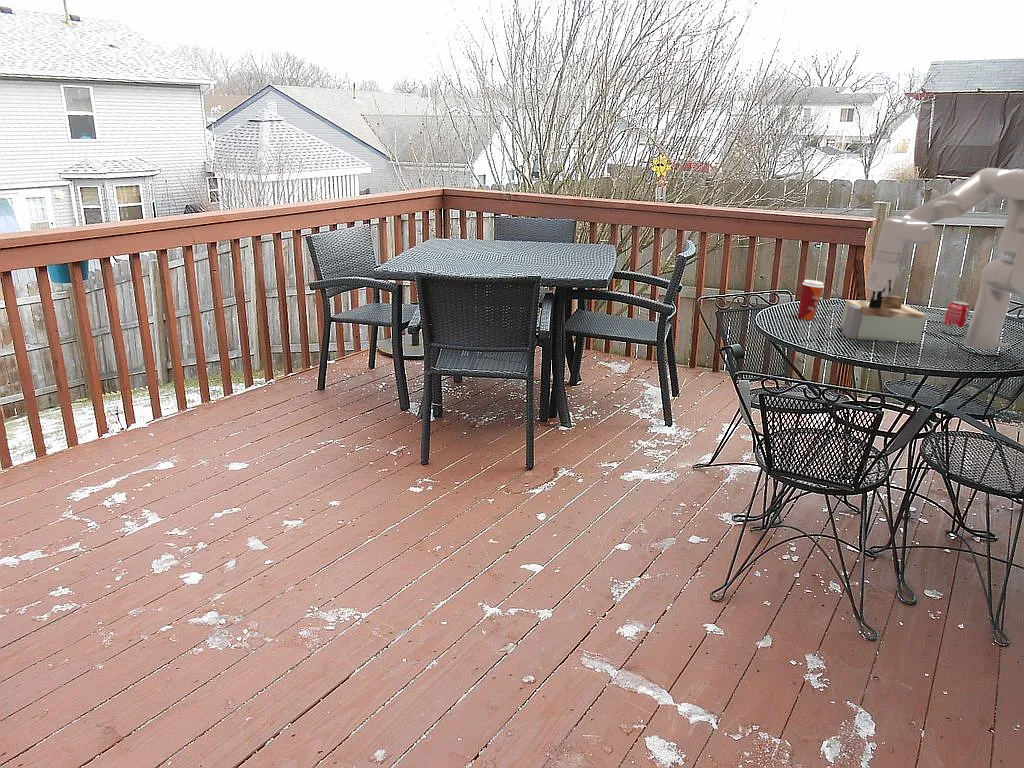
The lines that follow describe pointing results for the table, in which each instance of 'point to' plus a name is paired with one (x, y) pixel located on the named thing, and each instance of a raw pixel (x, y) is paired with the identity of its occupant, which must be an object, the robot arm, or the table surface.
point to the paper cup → (810, 299)
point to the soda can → (957, 314)
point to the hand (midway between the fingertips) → (873, 311)
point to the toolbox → (880, 326)
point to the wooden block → (876, 312)
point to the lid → (893, 307)
